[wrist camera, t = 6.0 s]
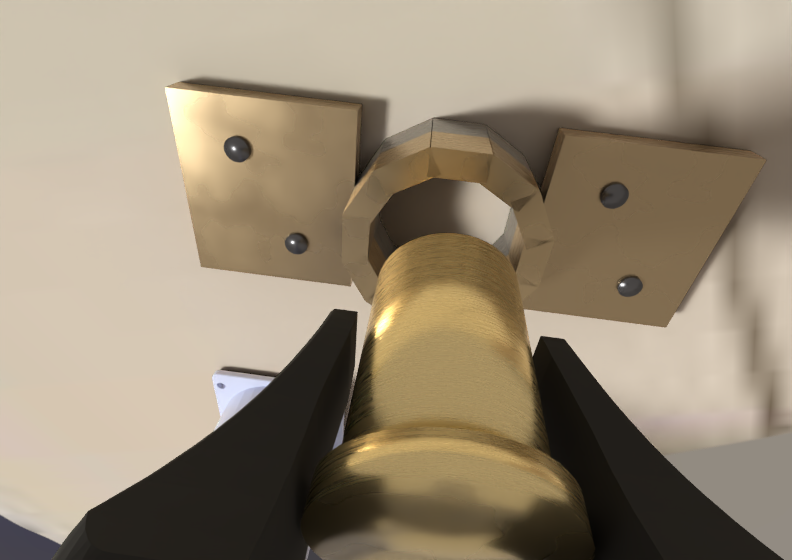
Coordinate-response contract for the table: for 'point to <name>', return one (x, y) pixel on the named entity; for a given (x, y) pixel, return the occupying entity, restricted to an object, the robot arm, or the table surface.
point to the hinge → (457, 160)
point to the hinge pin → (446, 425)
